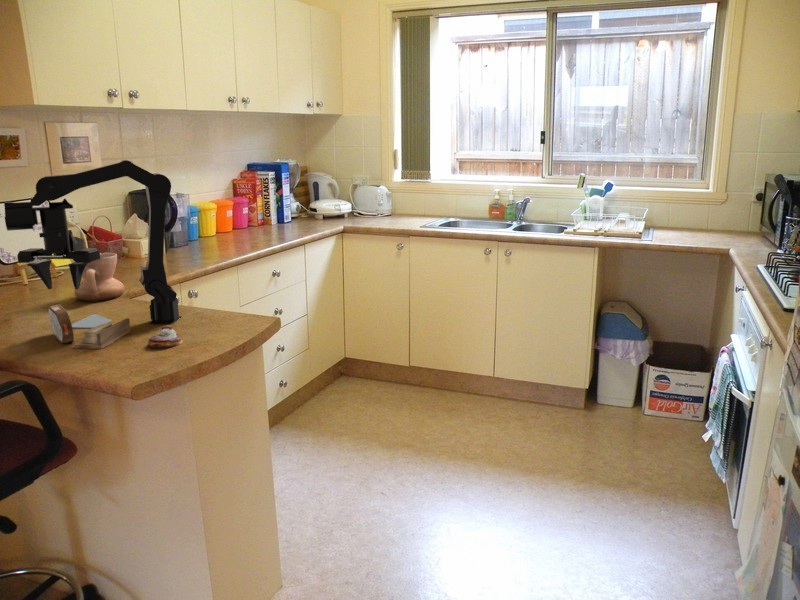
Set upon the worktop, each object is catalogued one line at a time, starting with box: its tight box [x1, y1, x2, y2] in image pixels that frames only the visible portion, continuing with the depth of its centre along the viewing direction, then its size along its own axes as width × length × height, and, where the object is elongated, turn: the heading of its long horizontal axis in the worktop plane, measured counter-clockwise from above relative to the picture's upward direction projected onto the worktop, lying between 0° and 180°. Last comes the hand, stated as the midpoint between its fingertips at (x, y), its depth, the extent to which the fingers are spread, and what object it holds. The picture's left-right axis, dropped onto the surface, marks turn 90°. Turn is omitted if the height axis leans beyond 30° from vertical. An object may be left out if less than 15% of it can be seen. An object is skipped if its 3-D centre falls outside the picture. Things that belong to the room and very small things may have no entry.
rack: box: [73, 317, 131, 350], centre depth 165 cm, size 7×14×4 cm, turn 174°
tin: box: [47, 303, 75, 344], centre depth 165 cm, size 15×3×8 cm, turn 37°
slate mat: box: [71, 313, 113, 330], centre depth 185 cm, size 9×19×1 cm, turn 174°
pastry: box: [147, 325, 184, 350], centre depth 159 cm, size 8×8×5 cm
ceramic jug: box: [73, 252, 125, 302], centre depth 206 cm, size 18×14×14 cm
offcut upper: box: [84, 322, 113, 337], centre depth 164 cm, size 3×8×1 cm, turn 174°
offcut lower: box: [81, 336, 97, 343], centre depth 165 cm, size 3×10×1 cm, turn 174°
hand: (63, 289), depth 166 cm, fingers open, 7 cm apart
